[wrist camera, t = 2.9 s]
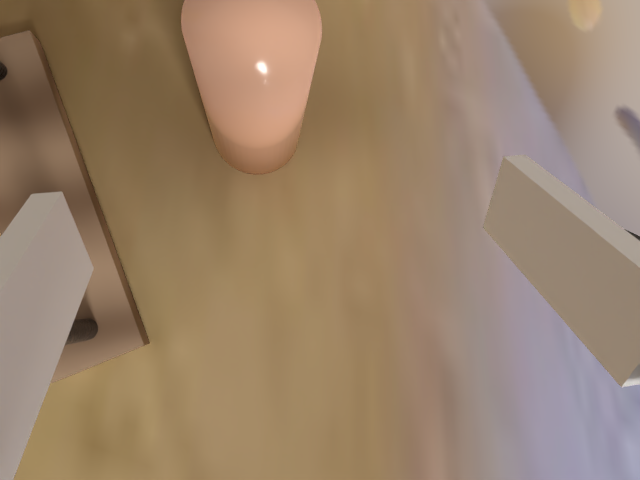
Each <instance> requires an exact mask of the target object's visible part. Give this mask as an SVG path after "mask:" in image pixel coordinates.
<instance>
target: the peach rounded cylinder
mask: <svg viewBox="0 0 640 480" xmlns="http://www.w3.org/2000/svg"><path fill="white" fill-rule="evenodd" d="M181 27H182V33H183V37H184V40H185V44H186V47H187V50H188V54H189V57H190V61H191V64H192V67H193V71H194V74H195V78H196V81H197V84H198V88H199V91H200V95H201V98H202V101H203V105H204V108H205V112H206V115H207V119H208V122H209V125H210V129H211V132H212V136H213V139H214V142H215V146H216V148H217V150H218V152H219V154H220V155H221V157H222V158H223V159H224V160H225V161H226V162H227V163H228V164H229V165H230V166H232V167H233V168H235V169H237V170H239V171H242V172H244V173H249V174H266V173H270V172H273V171H275V170H278V169H279V168H281V167H282V166H284V165H285V164H286V163H287V162H288V161H289V160H290V159H291V157H292V156H293V154H294V153H295V150H296V148H297V144H298V140H299V136H300V131H301V127H302V122H303V118H304V113H305V109H306V105H307V100H308V96H309V91H310V87H311V82H312V78H313V74H314V69H315V65H316V60H317V56H318V51H319V47H320V42H321V38H322V21H321V16H320V12H319V9H318V6H317V4H316V2H315V0H184V4H183V7H182V13H181Z"/></svg>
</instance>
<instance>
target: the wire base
mask: <svg viewBox="0 0 640 480" xmlns="http://www.w3.org/2000/svg"><path fill="white" fill-rule="evenodd" d="M0 61H1V62H2V63H3V64H4V65H5V66H6V68H7V75H6V77H5V78H4V79H2V80H0V233H1V235H2V234H3V233H4V231H5V230H6V229H7V227H8V226H9V224H10V223H11V222H12V220H13V219H14V218H15V216H16V215H17V213H18V212H19V211H20V209H21V208H22V206H23V205H24V204H25V202H26V201H27V200H28V198H29V197H30V195H31V194H36V193H49V192H63V195H64V197H65V200H66V202H67V205H68V207H69V209H70V212H71V214H72V217H73V219H74V222H75V224H76V226H77V229H78V231H79V234H80V236H81V238H82V241H83V243H84V246H85V248H86V251H87V253H88V255H89V258H90V260H91V263H92V265H93V267H94V270H93V272H92V275H91V277H90V280H89V283H88V285H87V288H86V290H85V293H84V296H83V298H82V301H81V304H80V306H79V309H78V311H77V314H76V317H75V319H85V318H89V319H92V320H94V321H95V322H96V323H97V325H98V332H97V334H96V336H95V337H94V338H92V339H91V340H87V341H83V342H78V343H73V344H69V345H64V348H63V351H62V353H61V356H60V358H59V361H58V364H57V366H56V369H55V372H54V374H53V377H52V379H51V383H53V382H56V381H58V380H61V379H63V378H66V377H68V376H71V375H73V374H76V373H78V372H81V371H83V370H85V369H88V368H90V367H93V366H95V365H98V364H100V363H103V362H105V361H108V360H110V359H112V358H115V357H117V356H120V355H122V354H125V353H127V352H130V351H132V350H135V349H137V348H139V347H142V346H144V345H147V344H149V340H148V337H147V335H146V332H145V329H144V326H143V324H142V321H141V318H140V315H139V313H138V310H137V307H136V304H135V302H134V299H133V296H132V293H131V291H130V288H129V285H128V282H127V280H126V277H125V274H124V271H123V269H122V266H121V263H120V260H119V258H118V255H117V252H116V249H115V247H114V244H113V241H112V238H111V236H110V233H109V230H108V227H107V225H106V222H105V219H104V216H103V214H102V211H101V208H100V205H99V203H98V200H97V197H96V194H95V192H94V189H93V186H92V183H91V181H90V178H89V175H88V172H87V170H86V167H85V164H84V161H83V159H82V156H81V153H80V150H79V148H78V145H77V142H76V139H75V137H74V134H73V131H72V128H71V126H70V123H69V120H68V117H67V115H66V112H65V109H64V106H63V104H62V101H61V98H60V95H59V93H58V90H57V87H56V84H55V82H54V79H53V76H52V73H51V71H50V68H49V65H48V62H47V60H46V57H45V54H44V51H43V49H42V46H41V43H40V41H39V40H38V39H37V38H36V37H35V36H34V34H33V33H32V32H31V31H30V30H28V31H24V32H20V33H16V34H12V35H8V36H5V37H1V38H0Z"/></svg>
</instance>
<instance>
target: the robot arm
mask: <svg viewBox="0 0 640 480" xmlns="http://www.w3.org/2000/svg"><path fill="white" fill-rule="evenodd" d="M483 228H484V229H485V230H486V231H487V233H488V234H489V235H490V236H491V237H492V238H493V240H494V241H495V242H496V243H497V244H498V245H499V246H500V248H501V249H502V250H503V251H504V252H505V253H506V255H507V256H508V257H509V258H510V259H511V260H512V262H513V263H514V264H515V265H516V266H517V267H518V268H519V270H520V271H521V272H522V273H523V274H524V275H525V277H526V278H527V279H528V280H529V281H530V282H531V283H532V285H533V286H534V287H535V288H536V289H537V290H538V292H539V293H540V294H541V295H542V296H543V297H544V298H545V300H546V301H547V302H548V303H549V304H550V305H551V307H552V308H553V309H554V310H555V311H556V312H557V314H558V315H559V316H560V317H561V318H562V319H563V320H564V322H565V323H566V324H567V325H568V326H569V327H570V329H571V330H572V331H573V332H574V333H575V334H576V335H577V337H578V338H579V339H580V340H581V341H582V342H583V344H584V345H585V346H586V347H587V348H588V349H589V350H590V352H591V353H592V354H593V355H594V356H595V357H596V359H597V360H598V361H599V362H600V363H601V364H602V366H603V367H604V368H605V369H606V370H607V371H608V372H609V374H610V375H611V376H612V377H613V378H614V379H615V381H616V382H617V383H618V384H619V385H620V386H621V387H626V386H631V385H637V384H640V236H638V235H636V234H634V233H631V232H629V231H627V230H625V229H623V228H622V227H621V226H619V225H618V224H617V223H615V222H614V221H612V220H611V219H610V218H608V217H607V216H606V215H604V214H603V213H602V212H601V211H599V210H598V209H597V208H595V207H594V206H593V205H591V204H590V203H589V202H587V201H586V200H585V199H583V198H582V197H581V196H579V195H578V194H577V193H575V192H574V191H573V190H571V189H570V188H569V187H567V186H566V185H565V184H563V183H562V182H561V181H559V180H558V179H557V178H555V177H554V176H553V175H551V174H550V173H549V172H547V171H546V170H545V169H543V168H542V167H541V166H539V165H538V164H537V163H536V162H534V161H533V160H532V159H530V158H529V157H528V156H526V155H517V156H505V157H503V160H502V164H501V167H500V170H499V174H498V177H497V181H496V184H495V188H494V191H493V195H492V198H491V201H490V205H489V208H488V212H487V215H486V219H485V222H484V225H483ZM93 270H94V267H93V265H92V263H91V260H90V258H89V255H88V253H87V251H86V248H85V246H84V243H83V241H82V238H81V236H80V234H79V231H78V229H77V226H76V224H75V222H74V219H73V217H72V214H71V212H70V209H69V207H68V205H67V202H66V200H65V197H64V195H63V192H49V193H36V194H31V195H30V197H29V198H28V200H27V201H26V202H25V204H24V205H23V206H22V208H21V209H20V211H19V212H18V213H17V215H16V216H15V218H14V219H13V220H12V222H11V223H10V224H9V226H8V227H7V229H6V230H5V231H4V233H3V234H2V235H1V237H0V480H13V479H14V476H15V474H16V471H17V468H18V466H19V463H20V460H21V458H22V455H23V453H24V450H25V447H26V445H27V442H28V440H29V437H30V434H31V432H32V429H33V426H34V424H35V421H36V419H37V416H38V413H39V411H40V408H41V406H42V403H43V400H44V398H45V395H46V392H47V390H48V387H49V385H50V382H51V379H52V377H53V374H54V372H55V369H56V366H57V364H58V361H59V358H60V356H61V353H62V351H63V348H64V345H65V343H66V340H67V338H68V335H69V332H70V330H71V327H72V324H73V322H74V319H75V317H76V314H77V311H78V309H79V306H80V304H81V301H82V298H83V296H84V293H85V290H86V288H87V285H88V283H89V280H90V277H91V275H92V272H93Z"/></svg>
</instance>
